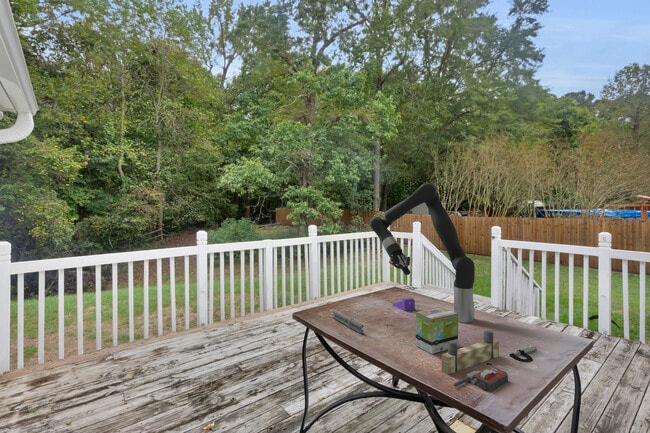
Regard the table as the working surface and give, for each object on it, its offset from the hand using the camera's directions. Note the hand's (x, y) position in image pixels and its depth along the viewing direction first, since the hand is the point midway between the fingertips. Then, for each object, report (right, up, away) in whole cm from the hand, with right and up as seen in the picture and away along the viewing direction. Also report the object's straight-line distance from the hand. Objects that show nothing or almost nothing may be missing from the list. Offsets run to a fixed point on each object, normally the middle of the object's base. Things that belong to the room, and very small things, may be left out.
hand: (408, 274), depth 160 cm
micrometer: (+39, -27, -33) cm, 58 cm away
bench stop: (+14, -27, -38) cm, 49 cm away
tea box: (+6, -27, -23) cm, 36 cm away
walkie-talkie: (+11, -28, -52) cm, 60 cm away
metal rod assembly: (-30, -27, +3) cm, 40 cm away
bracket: (+5, -25, +30) cm, 40 cm away
